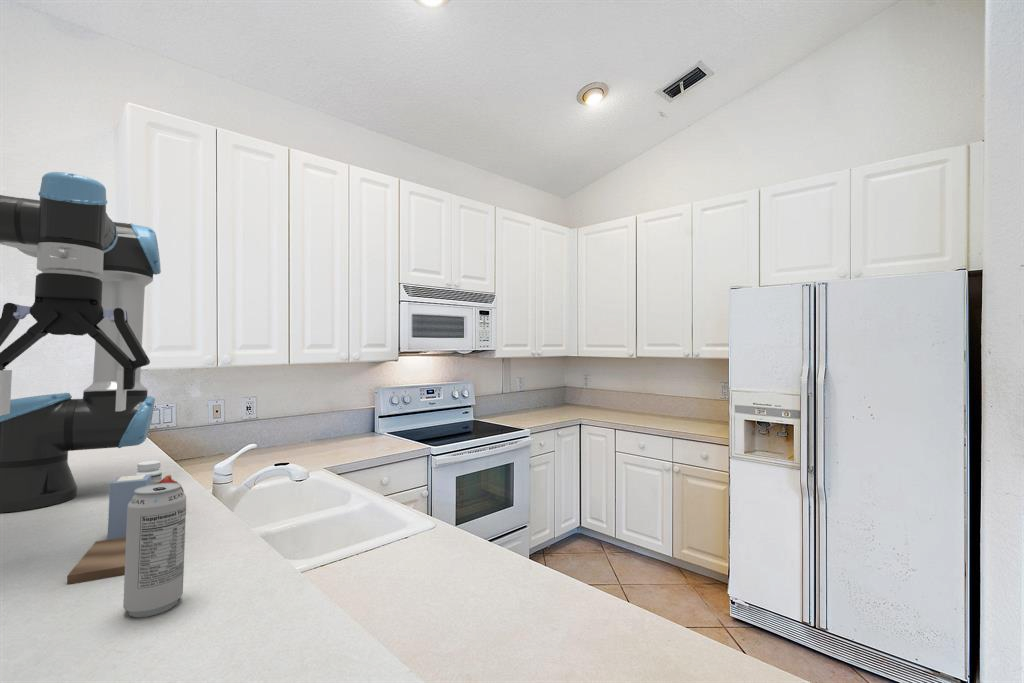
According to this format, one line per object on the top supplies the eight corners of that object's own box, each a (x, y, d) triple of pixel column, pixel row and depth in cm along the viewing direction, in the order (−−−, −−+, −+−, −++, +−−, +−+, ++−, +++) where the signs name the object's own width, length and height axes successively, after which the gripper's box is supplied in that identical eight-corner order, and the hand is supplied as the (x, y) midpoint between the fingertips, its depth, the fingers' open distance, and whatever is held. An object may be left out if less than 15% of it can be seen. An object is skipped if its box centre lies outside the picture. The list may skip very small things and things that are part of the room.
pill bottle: (128, 502, 102) (129, 463, 102) (150, 496, 106) (152, 459, 106) (143, 504, 100) (145, 465, 101) (165, 498, 105) (167, 461, 105)
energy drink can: (174, 590, 63) (178, 479, 64) (189, 605, 59) (193, 486, 60) (117, 608, 59) (122, 488, 59) (129, 625, 55) (134, 497, 55)
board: (95, 548, 77) (95, 541, 77) (176, 536, 82) (177, 529, 82) (66, 584, 65) (67, 575, 65) (164, 567, 70) (165, 559, 70)
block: (114, 533, 84) (116, 476, 84) (149, 528, 86) (151, 473, 87) (107, 542, 79) (109, 482, 80) (144, 537, 82) (146, 479, 82)
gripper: (-62, 262, 63) (-72, 419, 62) (165, 279, 75) (160, 411, 74) (-32, 271, 69) (-40, 413, 69) (172, 285, 81) (168, 406, 81)
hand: (63, 412), depth 71 cm, fingers open, 13 cm apart
